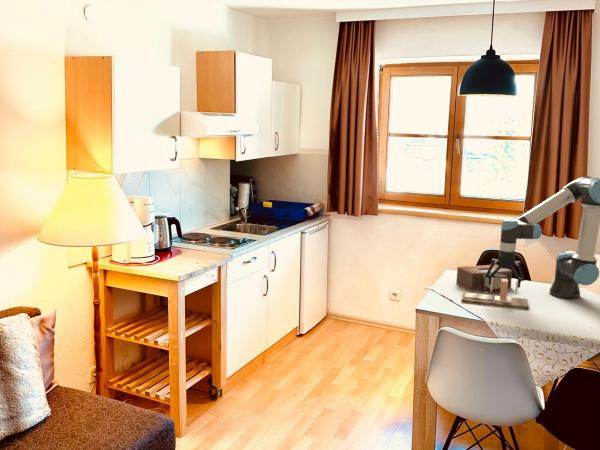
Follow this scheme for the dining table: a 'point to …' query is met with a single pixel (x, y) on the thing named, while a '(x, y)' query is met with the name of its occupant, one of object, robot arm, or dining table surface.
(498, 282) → the food container
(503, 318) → the dining table surface
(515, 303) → the ticket board
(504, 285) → the stub
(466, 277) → the tissue box cover
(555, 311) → the dining table surface
